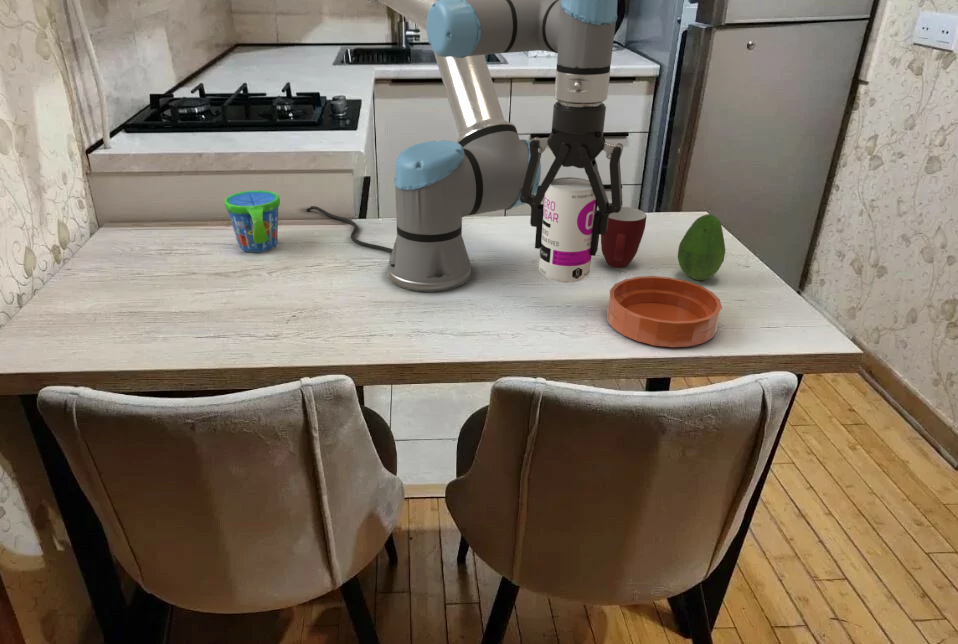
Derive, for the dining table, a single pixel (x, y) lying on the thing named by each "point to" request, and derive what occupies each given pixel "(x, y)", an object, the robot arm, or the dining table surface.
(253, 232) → the snack cup
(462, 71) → the robot arm
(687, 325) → the bowl
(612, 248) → the mug
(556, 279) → the supplement can
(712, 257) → the avocado
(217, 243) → the dining table surface
